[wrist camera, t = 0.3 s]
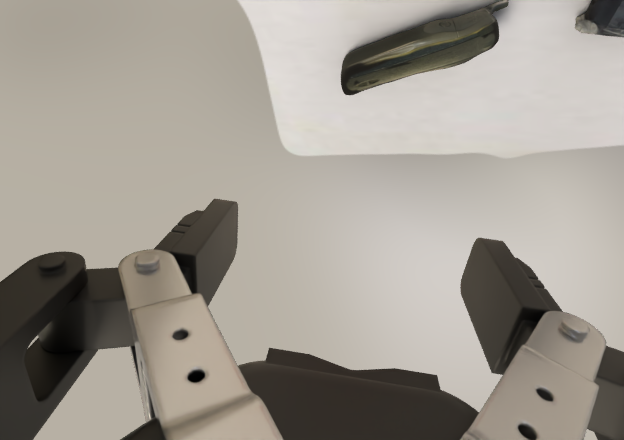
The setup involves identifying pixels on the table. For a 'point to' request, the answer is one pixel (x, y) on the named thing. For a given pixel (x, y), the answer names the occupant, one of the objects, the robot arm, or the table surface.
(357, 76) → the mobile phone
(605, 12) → the electronic device
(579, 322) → the robot arm
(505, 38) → the table surface
